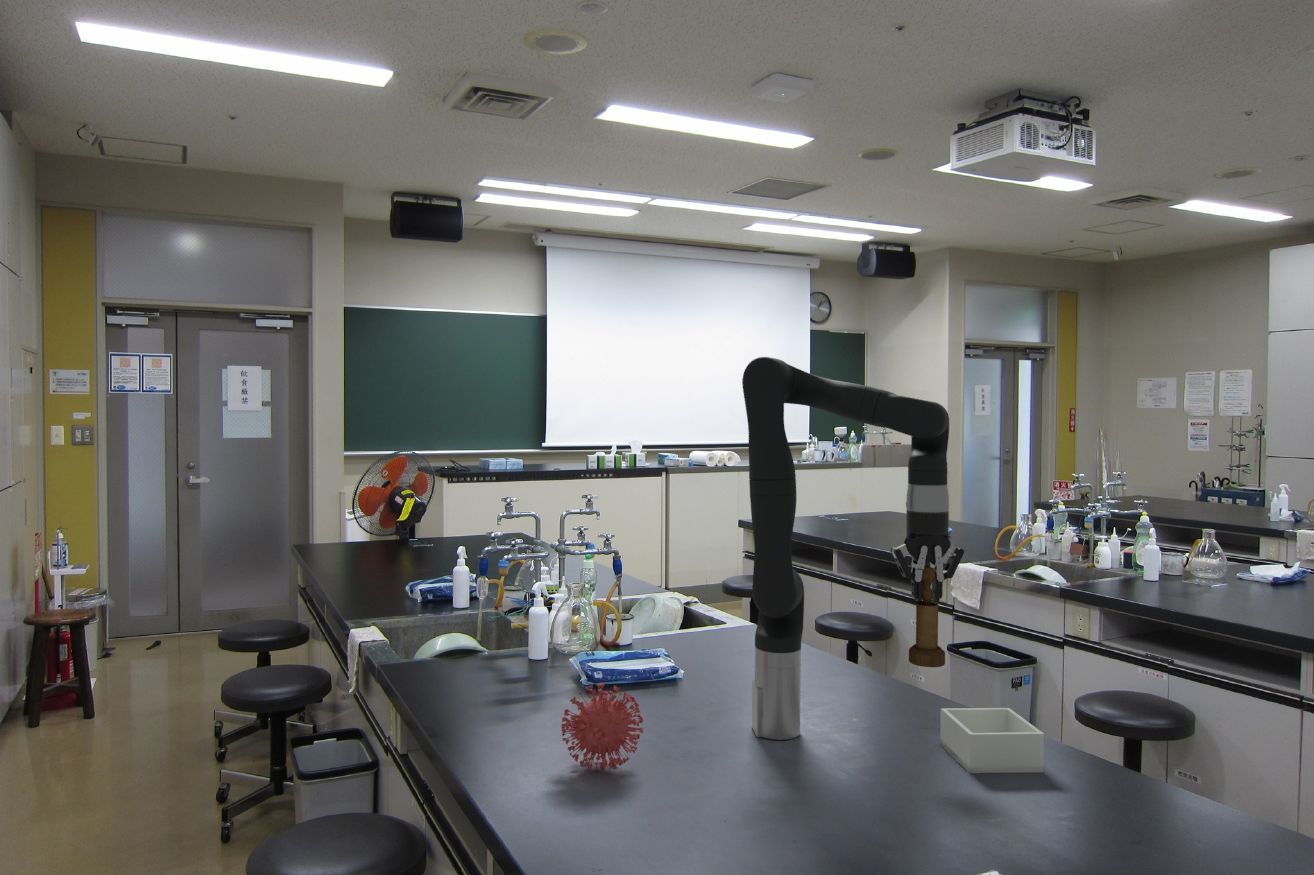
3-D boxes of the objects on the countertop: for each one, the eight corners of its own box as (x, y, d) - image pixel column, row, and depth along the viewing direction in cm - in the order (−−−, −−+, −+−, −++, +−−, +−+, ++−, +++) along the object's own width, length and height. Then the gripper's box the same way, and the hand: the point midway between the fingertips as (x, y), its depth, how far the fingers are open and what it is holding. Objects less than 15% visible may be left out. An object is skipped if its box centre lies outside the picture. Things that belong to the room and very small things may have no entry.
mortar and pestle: (947, 668, 155) (947, 570, 155) (910, 666, 156) (910, 569, 156) (942, 658, 162) (942, 564, 161) (907, 657, 163) (907, 563, 163)
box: (969, 773, 152) (969, 734, 152) (940, 744, 166) (940, 708, 166) (1043, 772, 153) (1044, 733, 153) (1008, 743, 166) (1008, 708, 166)
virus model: (653, 757, 158) (654, 677, 158) (624, 790, 144) (625, 703, 144) (581, 746, 163) (581, 669, 163) (546, 777, 149) (546, 693, 149)
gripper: (897, 510, 154) (896, 605, 155) (972, 510, 155) (972, 605, 155) (884, 506, 162) (883, 597, 162) (956, 506, 163) (955, 596, 163)
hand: (927, 600), depth 159 cm, fingers closed on mortar and pestle, 2 cm apart
